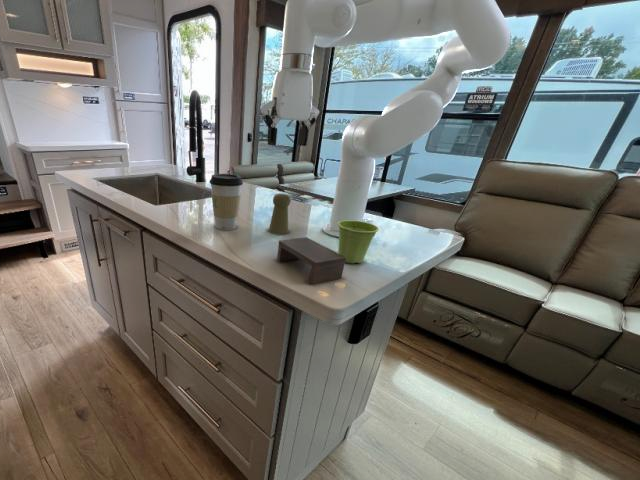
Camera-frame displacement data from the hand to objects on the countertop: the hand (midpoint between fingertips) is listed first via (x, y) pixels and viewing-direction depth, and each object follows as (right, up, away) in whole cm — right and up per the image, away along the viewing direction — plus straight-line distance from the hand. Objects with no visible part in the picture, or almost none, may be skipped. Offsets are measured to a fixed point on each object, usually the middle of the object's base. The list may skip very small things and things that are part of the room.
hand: (287, 145), depth 84 cm
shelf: (+3, -34, -11) cm, 36 cm away
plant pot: (+15, -31, -5) cm, 35 cm away
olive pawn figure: (-1, -20, +13) cm, 24 cm away
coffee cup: (-17, -19, +15) cm, 29 cm away
